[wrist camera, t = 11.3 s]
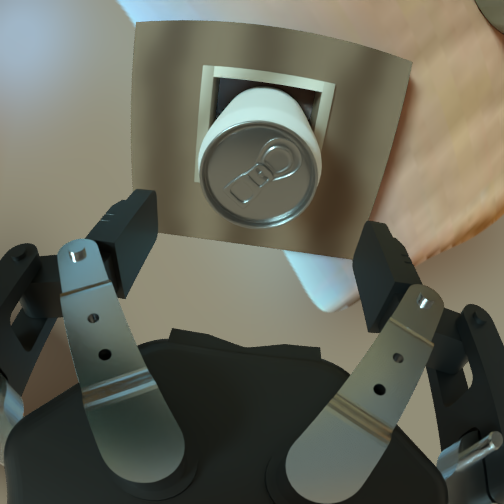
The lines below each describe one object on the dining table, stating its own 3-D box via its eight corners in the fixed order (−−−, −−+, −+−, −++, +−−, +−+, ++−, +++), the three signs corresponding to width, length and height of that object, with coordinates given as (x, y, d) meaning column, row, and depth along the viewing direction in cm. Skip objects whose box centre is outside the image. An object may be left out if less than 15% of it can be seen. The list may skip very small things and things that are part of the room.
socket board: (397, 59, 20) (413, 62, 17) (347, 241, 30) (354, 261, 28) (150, 24, 19) (135, 22, 17) (146, 213, 30) (134, 230, 27)
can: (320, 126, 24) (354, 184, 14) (263, 173, 27) (256, 257, 17) (265, 69, 22) (260, 81, 12) (208, 122, 24) (163, 177, 15)
